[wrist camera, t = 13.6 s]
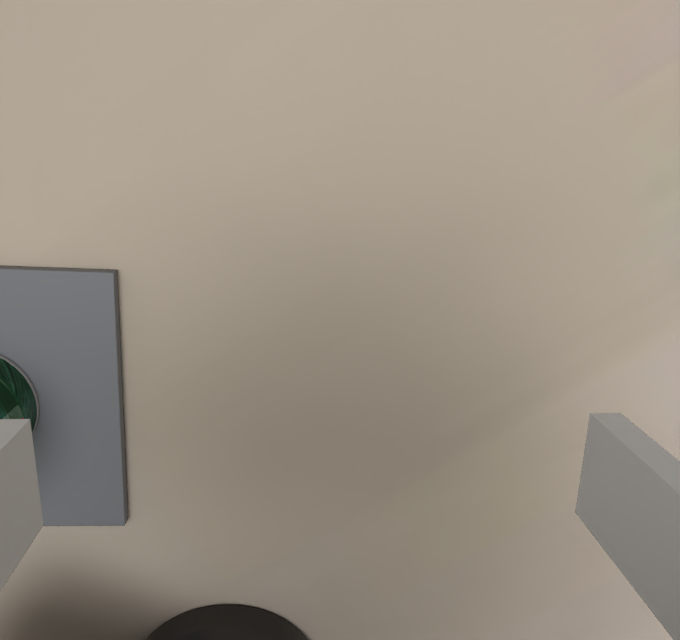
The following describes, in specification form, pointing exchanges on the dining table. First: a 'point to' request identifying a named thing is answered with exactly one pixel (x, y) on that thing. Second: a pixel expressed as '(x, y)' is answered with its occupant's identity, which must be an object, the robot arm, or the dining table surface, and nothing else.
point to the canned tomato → (17, 394)
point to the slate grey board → (71, 387)
